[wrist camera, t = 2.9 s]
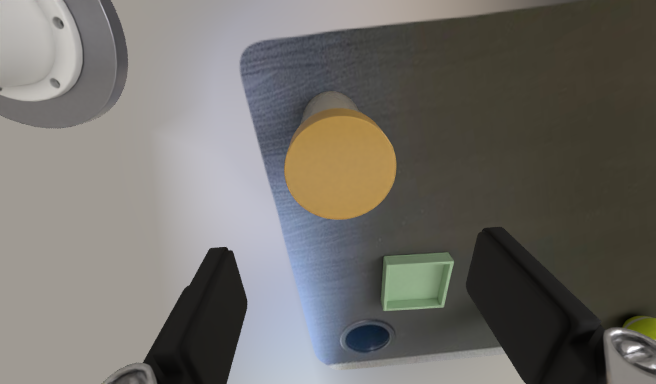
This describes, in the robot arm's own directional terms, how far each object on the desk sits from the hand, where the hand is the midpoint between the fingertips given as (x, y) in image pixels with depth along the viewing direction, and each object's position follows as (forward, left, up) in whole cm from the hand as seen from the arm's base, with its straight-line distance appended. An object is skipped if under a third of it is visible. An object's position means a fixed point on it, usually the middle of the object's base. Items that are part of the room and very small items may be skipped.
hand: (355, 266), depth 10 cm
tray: (+12, -25, -23) cm, 36 cm away
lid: (0, 0, -9) cm, 9 cm away
